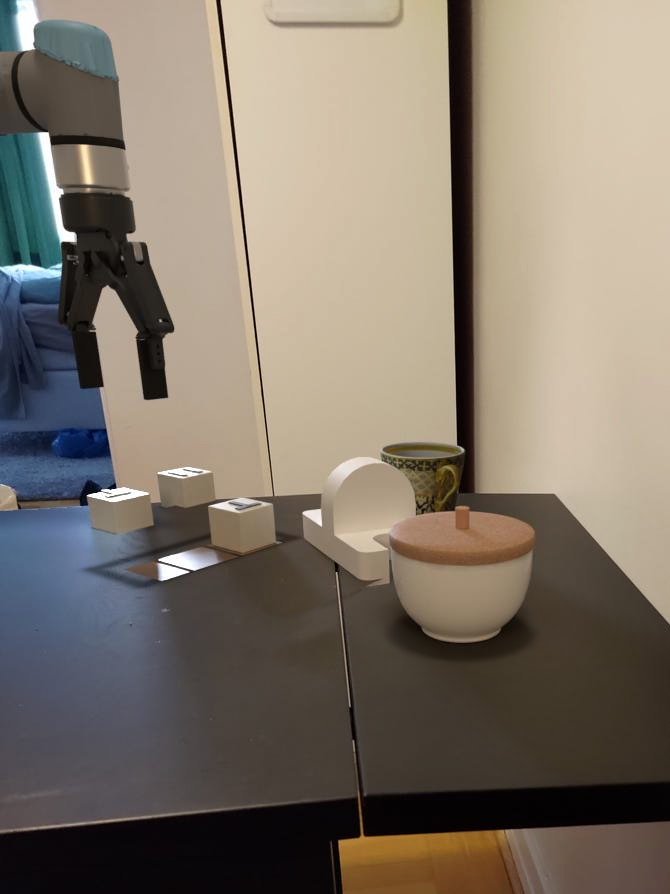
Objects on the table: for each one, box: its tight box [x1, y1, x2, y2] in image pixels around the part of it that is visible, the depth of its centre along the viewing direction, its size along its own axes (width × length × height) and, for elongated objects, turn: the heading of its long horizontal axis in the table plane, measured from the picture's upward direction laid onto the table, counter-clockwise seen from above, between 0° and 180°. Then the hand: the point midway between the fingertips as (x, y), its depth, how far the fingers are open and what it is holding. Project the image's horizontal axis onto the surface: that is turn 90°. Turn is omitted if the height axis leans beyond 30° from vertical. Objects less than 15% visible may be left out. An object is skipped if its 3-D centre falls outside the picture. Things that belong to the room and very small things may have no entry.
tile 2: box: [207, 497, 277, 553], centre depth 98 cm, size 5×5×5 cm
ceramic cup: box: [379, 441, 466, 516], centre depth 104 cm, size 13×10×10 cm
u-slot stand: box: [301, 456, 416, 587], centre depth 96 cm, size 10×18×11 cm, turn 30°
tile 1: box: [86, 487, 155, 535], centre depth 104 cm, size 5×5×5 cm
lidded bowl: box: [389, 505, 536, 644], centre depth 77 cm, size 13×13×11 cm
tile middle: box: [156, 466, 217, 509], centre depth 116 cm, size 5×5×5 cm
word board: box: [123, 540, 283, 582], centre depth 94 cm, size 8×20×1 cm, turn 146°
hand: (123, 393), depth 105 cm, fingers open, 13 cm apart
